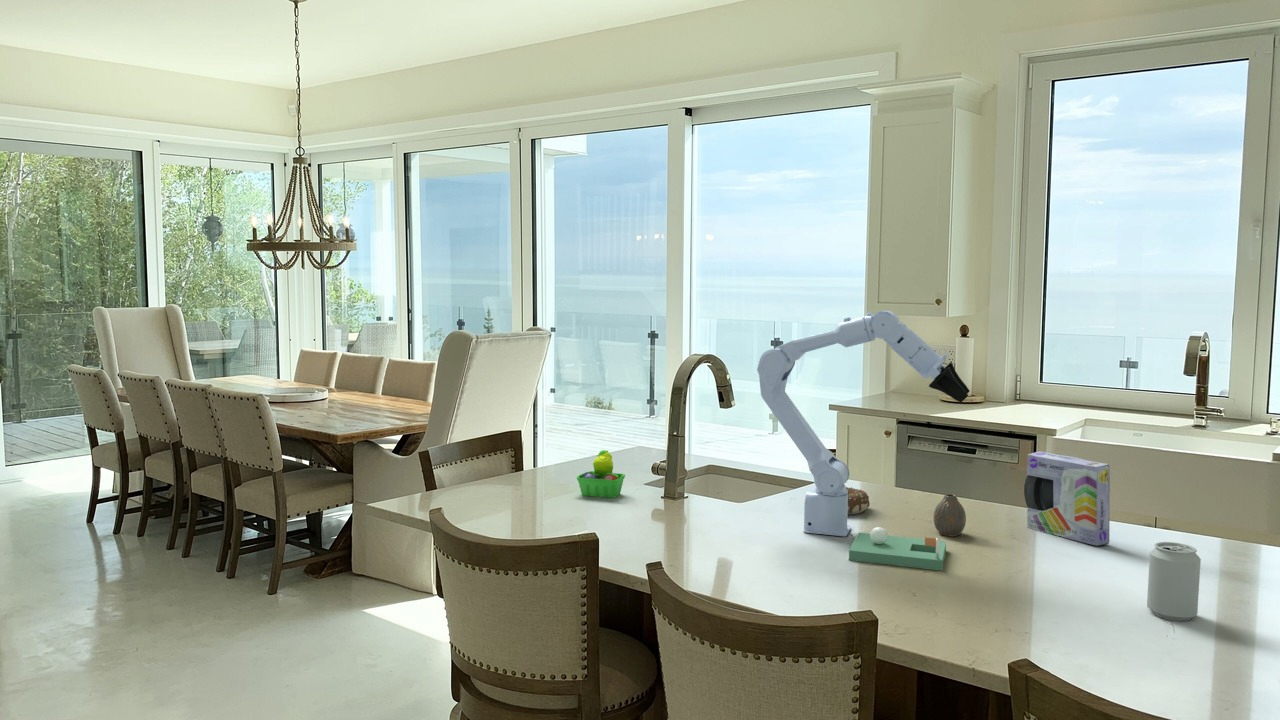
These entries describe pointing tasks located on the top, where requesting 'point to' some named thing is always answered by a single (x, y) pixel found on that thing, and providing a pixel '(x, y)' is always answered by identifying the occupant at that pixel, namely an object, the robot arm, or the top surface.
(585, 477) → the fruit basket
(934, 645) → the top surface
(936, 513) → the vase
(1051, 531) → the cake pan box
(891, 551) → the board
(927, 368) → the robot arm
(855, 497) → the donut
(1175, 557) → the can
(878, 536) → the ball
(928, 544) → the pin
